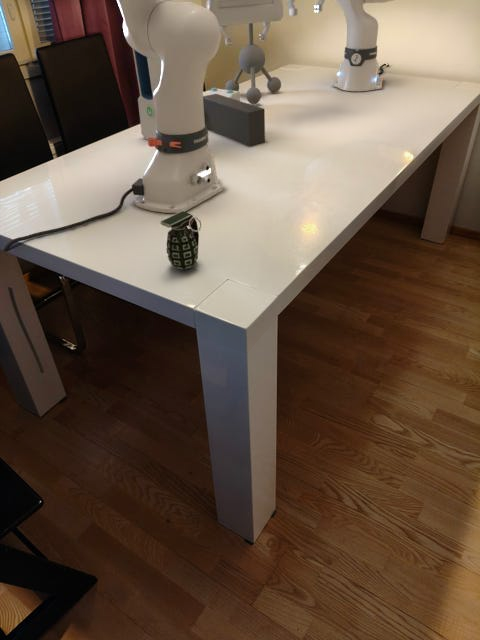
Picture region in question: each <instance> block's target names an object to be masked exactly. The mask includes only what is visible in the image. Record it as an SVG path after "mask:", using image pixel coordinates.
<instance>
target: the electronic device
mask: <svg viewBox="0 0 480 640" xmlns="http://www.w3.org/2000/svg"><path fill="white" fill-rule="evenodd" d="M132 54H133V60H134V61H133V62H134V65H135V72H136V79H137V86H138V90H139V97H138V98H137V103H138V113H139V123H140V129H141V130H140V131H141V135H142V136H143V138H144V139H146V140H148V139H149V138H150V137H152V138H156V130H157V129H158V128H157V121H156V114H155V108H154V101H153V93H154V91H155V89H156V88H157V86H158V85H159V83H160V78H161V60H157V59H152V58H148V57H146V56H144V55H142V54H140V53H139V52H137V51H136V50H134V49H133V48H132Z"/></svg>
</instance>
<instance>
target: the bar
mask: <svg viewBox="0 0 480 640" xmlns="http://www.w3.org/2000/svg"><path fill="white" fill-rule="evenodd" d="M203 105H204V118H205V125H206V126H207V131H211V132H213V133H215V134H218V135H221V136H223V137H226V138H228V139H230V140H232V141H236V142H237V143H240V144H242V145H244V146H247V147H253V146H256V145H261V144H264V143H266V121H265V120H266V119H265V111H266V110H265V108H263V107H260V106H257V105H255V104H251V103H247V102H244V101H241V100H240V101H238V100H235V99H232V98H228V97H225V96H222V95H219V94H212V95H208V96H203Z"/></svg>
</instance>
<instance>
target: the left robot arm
mask: <svg viewBox="0 0 480 640" xmlns="http://www.w3.org/2000/svg"><path fill="white" fill-rule="evenodd" d="M116 2H117V5H118V7H119V10H120V13H121V16H122V18H123V22H122V29H123V35H124V38H125V41H126V42H127V44H128V45H129V46H130V47H131V48H132V50H133V49H134V50H136V51H137V52H139V53H140V54H142V55H144V56H146V57H148V58H152V59H157V60H161V78H160V83H159V85H158V86H157V88H156V89H155V91H154V93H153V101H154V108H155V114H156V121H157V128H158V129H157V130H156V138H152V137H150V138H149V139H147V146H149V147H151V148H152V147H154V148H155V151H154V153H153V155H152V157H151V159H150V162H149V163H148V165H147V167H146V169H145V172H144V173H143V176H142V178H138V179H137V180H136V181H134V182H133V183H132V184H131V188H129V189H128V190H127V191H125V193H124V194H123V195H122V196H121V198H120V201H119V204H118V206H117V207H116V208H114V209H112V210H111V211H109V212H106V213H102V214H98V215H95V216H92V217H90V218H86V219H84V220H80V221H78V222H74V223H71V224H68V225H64V226H60V227H56V228H51V229H47V230H43V231H38V232H35V233H32V234H28V235H23V236H19V237H16V238H13V239H11V240H10V241H8V242H7V243H6V244H5V246H4V248H3V250H2V252H3V253H5V252H8V251H9V250H10V248H11V246H13V245H14V244H16V243H18V242H23V241H27V240H30V239H33V238H37V237H42V236H46V235H49V234H55V233H59V232H63V231H66V230H70V229H73V228H76V227H79V226H80V227H81V226H83V225H86V224H89V223H91V222H94V221H97V220H100V219H103V218H107V217H110V216H113V215H114V214H116V213H118V212H119V211H120V210H121V209H122V207H123V206H124V202H125V200H126V198H127V197H128V196H129V195H130V194H132V195H133V196H137V197H135V199H134V205H135V206H137V207H138V208H140V209H142V210H143V209H144V210H147V211H151V212H157V213H164V214H177V213H179V212H181V211H184V212H187V211H189V210H190V209H193V208H194V207H196V206H198V205H199V204H201V203H203V202H205V201H207V200H208V199H210V198H212V197H214V196H215V195H217V194H219V193H220V192H222V191H223V185H222V184H220V183H219V180H218V174H217V168H216V163H215V156H214V155H213V153H212V152H211V149H210V147H209V145H208V143H209V130H208V129H207V126H206V125H205V118H204V105H203V92H204V83H205V78H206V74H207V69H208V66H209V64H210V62H211V61H212V60H213V59H214V58H215V56H216V54H217V53H218V51H219V48H220V45H221V39H222V35H223V37H224V41H225V42H224V43H225V46H232V45H233V37H232V36H229V35H228V34H227V31H228V26H235V25H236V26H237V25H247V24H248V25H249V23H253V24H260V23H262V26H263V27H264V28H263V30H262V33H259V35H258V36H259V42H260V43H265V42H267V34H268V33H269V31H270V28H271V22H281V21H282V19H283V17H284V3H283V0H206V3H205V7H204V6H202V5H201V4H198V3H195V2H193V1H184V0H183V1H181V0H116ZM221 33H222V34H221ZM7 290H8V294H9V295H8V296H9V298H10V302H11V304H12V307H13V311H14V313H15V316H16V318H17V322H18V323H19V326H20V329H21V330H22V332H23V335H24V337H25V339H26V341H27V343H28V346H29V348H30V350H31V352H32V354H33V356H34V359H35V361H36V364H37V366H38V367H37V368H38V369H39V372H40V373H41V374H44V373H45V370H44V368H43V365H42V363H41V360H40V357H39V355H38V353H37V350H36V348H35V346H34V343H33V341H32V339H31V337H30V335H29V333H28V330H27V328H26V326H25V323H24V321H23V319H22V316H21V314H20V311H19V308H18V305H17V302H16V298H15V295H14V290H13V287H9V286H7Z"/></svg>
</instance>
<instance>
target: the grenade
mask: <svg viewBox="0 0 480 640" xmlns="http://www.w3.org/2000/svg"><path fill="white" fill-rule="evenodd" d="M198 222H199V226H198ZM159 224H160V225H162V226H164V227H166V228H169V230H168V231H167V236H166V254H167V259H168V261H169V263H170V265H171V266H172V267H174V268H176V269H178V270H181V271H186V270H189V269H192V267H194V266H195V265H196V264H197V262H198V261H197V260H198V259H199V243H200V241H199V240H200V233H199V232H200V231H201V228H202V221H201V220H200V219H199V218H198V217H197V216H194V215H193V214H192V213H189V212H187V211H185V212H184V211H181V212H179V213H174V214H172V215H170V216H169V217H166V218H165V219H162V220H160V222H159ZM198 227H199V228H198Z"/></svg>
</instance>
